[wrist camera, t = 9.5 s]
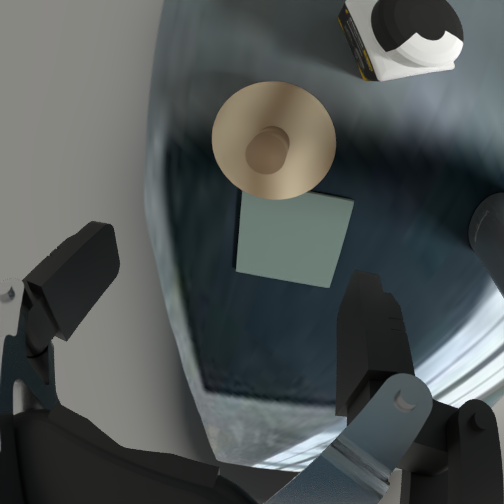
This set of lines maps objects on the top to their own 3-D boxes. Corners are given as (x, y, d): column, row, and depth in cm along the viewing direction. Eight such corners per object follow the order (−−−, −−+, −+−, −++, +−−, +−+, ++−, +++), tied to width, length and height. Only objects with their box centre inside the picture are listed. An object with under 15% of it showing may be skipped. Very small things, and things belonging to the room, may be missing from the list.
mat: (353, 199, 31) (354, 201, 30) (328, 285, 37) (329, 288, 37) (244, 180, 32) (243, 182, 31) (236, 269, 38) (235, 271, 38)
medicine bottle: (336, 17, 20) (352, -21, 11) (401, 5, 18) (449, -27, 8) (363, 81, 24) (397, 83, 14) (426, 68, 21) (488, 70, 11)
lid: (343, 92, 21) (353, 95, 16) (323, 203, 27) (325, 233, 22) (219, 76, 22) (196, 77, 17) (213, 185, 28) (192, 211, 23)
